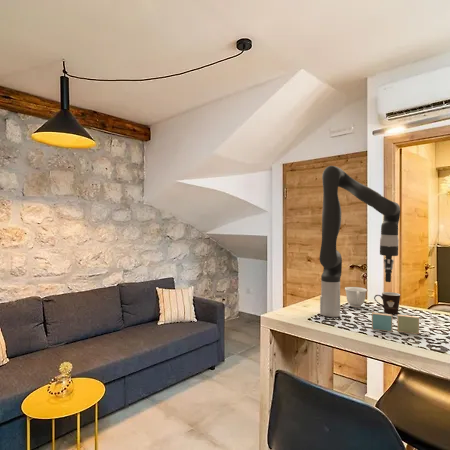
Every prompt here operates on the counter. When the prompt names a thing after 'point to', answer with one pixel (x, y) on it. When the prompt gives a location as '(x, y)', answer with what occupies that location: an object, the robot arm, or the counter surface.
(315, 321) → the counter surface
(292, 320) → the counter surface
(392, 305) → the coffee mug
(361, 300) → the teacup
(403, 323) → the tile
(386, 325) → the tile
